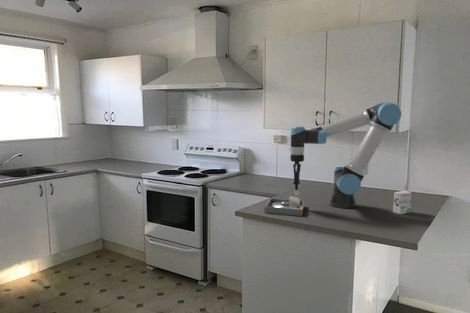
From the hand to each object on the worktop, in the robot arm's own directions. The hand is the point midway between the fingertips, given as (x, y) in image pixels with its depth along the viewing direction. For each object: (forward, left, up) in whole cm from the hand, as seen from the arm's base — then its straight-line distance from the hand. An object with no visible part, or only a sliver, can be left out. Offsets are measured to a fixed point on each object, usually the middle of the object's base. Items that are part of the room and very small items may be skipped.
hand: (296, 195), depth 212 cm
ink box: (-58, -10, -8) cm, 59 cm away
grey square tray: (+6, +5, -8) cm, 11 cm away
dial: (+5, +5, -6) cm, 10 cm away
